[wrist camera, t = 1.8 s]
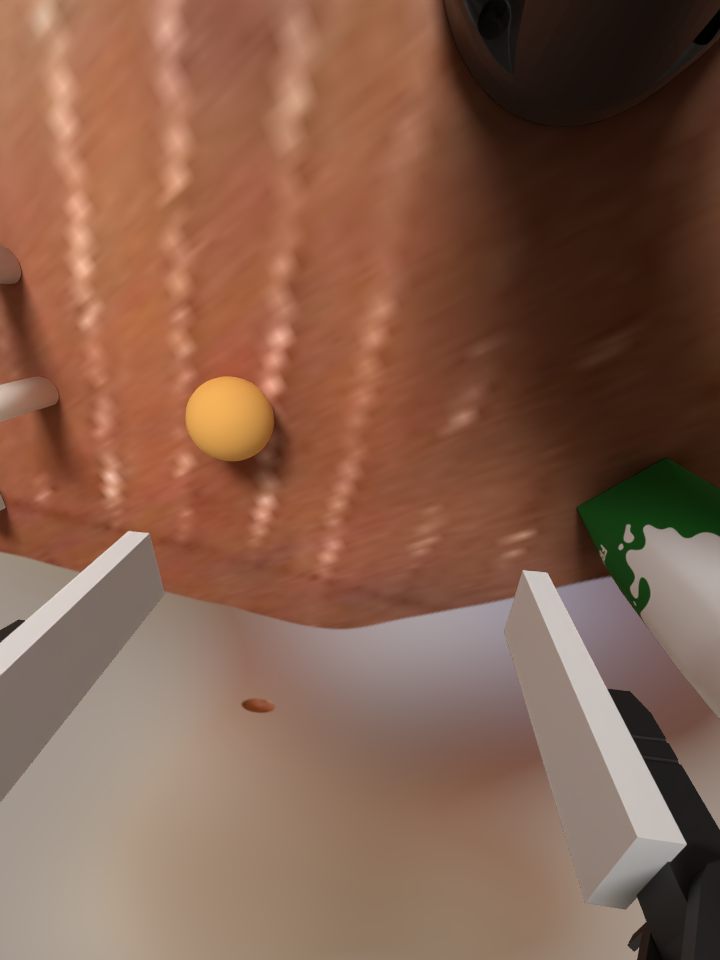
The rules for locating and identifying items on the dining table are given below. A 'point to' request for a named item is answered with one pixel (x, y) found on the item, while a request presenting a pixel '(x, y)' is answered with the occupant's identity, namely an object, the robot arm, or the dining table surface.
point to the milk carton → (667, 563)
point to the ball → (229, 418)
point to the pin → (26, 396)
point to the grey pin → (9, 267)
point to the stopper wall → (2, 503)
